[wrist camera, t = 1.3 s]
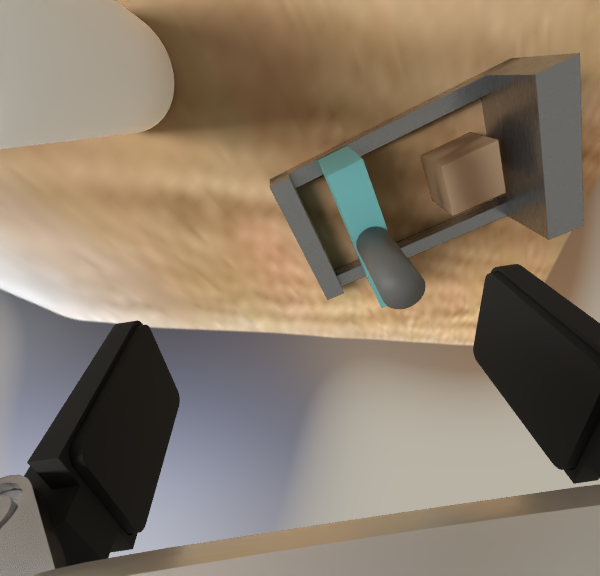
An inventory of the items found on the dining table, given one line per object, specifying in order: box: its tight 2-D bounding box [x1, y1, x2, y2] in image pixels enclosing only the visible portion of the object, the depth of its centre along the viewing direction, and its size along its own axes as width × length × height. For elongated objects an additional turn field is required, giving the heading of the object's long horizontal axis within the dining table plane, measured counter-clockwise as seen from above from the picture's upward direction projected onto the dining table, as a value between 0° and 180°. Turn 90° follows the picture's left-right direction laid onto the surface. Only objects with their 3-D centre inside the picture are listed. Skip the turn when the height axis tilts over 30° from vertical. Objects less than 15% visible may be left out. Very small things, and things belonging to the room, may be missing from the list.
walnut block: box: [421, 132, 506, 216], centre depth 33 cm, size 5×5×5 cm
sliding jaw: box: [318, 145, 425, 309], centre depth 29 cm, size 3×14×14 cm, turn 25°
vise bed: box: [270, 53, 583, 300], centre depth 33 cm, size 24×14×8 cm, turn 115°
